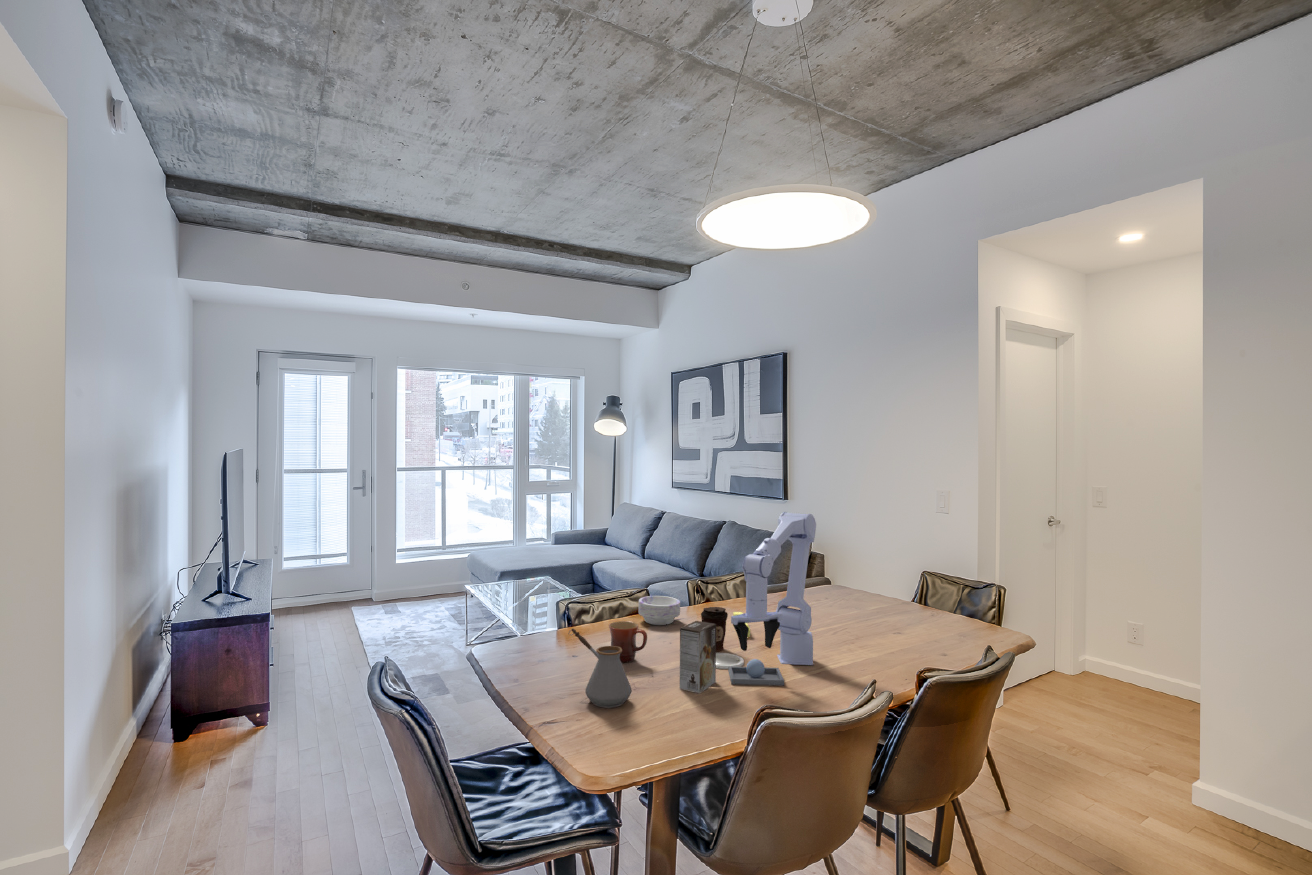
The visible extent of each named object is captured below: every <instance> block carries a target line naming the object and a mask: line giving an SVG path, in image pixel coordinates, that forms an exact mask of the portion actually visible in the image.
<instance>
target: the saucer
mask: <svg viewBox="0 0 1312 875" xmlns="http://www.w3.org/2000/svg"><path fill="white" fill-rule="evenodd" d="M744 662H745V661H744V658H743V657H741V656H739V655H737V654H733V653H728V652H716V669H718V670H728V666H733V667H743V666H744V664H745V663H744Z"/></svg>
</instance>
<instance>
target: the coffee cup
mask: <svg viewBox="0 0 1312 875" xmlns="http://www.w3.org/2000/svg"><path fill="white" fill-rule="evenodd" d="M726 609H727V608H724V607H720V606H709V607H704V608H703V610H702V611H701V613H700V615H701V616H700V618H701V622H707V623H713V624H716V653H722V652H724V650H725V648H724V643H725V637H726V633H727V632H726V630H727V628H726V627H727V621H728V616H729V614H728V612H727V611H726Z"/></svg>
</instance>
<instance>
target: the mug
mask: <svg viewBox="0 0 1312 875" xmlns="http://www.w3.org/2000/svg"><path fill="white" fill-rule="evenodd" d="M608 628H609V632H610V646H617V647H621V649H622V652H621V653H620V657H619V658H620V661H621V663H622V664H625V663H626V664H627V663H631V662H633V661H634V660H635V659H636V653H637V652H639V651H642V650H643V649H644V648H645V647H646V645H647V642H648V633H647V631H646V630H644V629H639V624H638V623H636V622H632V621H627V620H626V621H623V620H622V621H615V622H611V623H609V624H608ZM637 634H642V637H643V638H642V644H641V645H640V646H637V643H636V642H637V640H636V639H637V638H636V637H637Z"/></svg>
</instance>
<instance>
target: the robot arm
mask: <svg viewBox="0 0 1312 875" xmlns="http://www.w3.org/2000/svg"><path fill="white" fill-rule="evenodd" d="M777 520H778V521H777V527H776V529H775V530H774V532H773V534H771V537H766V538H764V539H763V541H762V542H761V543H760V544H759V546H758V547H757V548H756V549H755V550H754V551H753V553H749V554H748V555H746V556H744V558H743V561H742V565H741V569H742V572H743V574H744V577H743V579H744V581H745V582H746V583H745V584H746V586H745V587H746V589H745V590H746V591H745V613H743V614H740V615H736V616H733V615H731V616H730V620H731V621H730V624H732V626H733V628H734V630H735V632H736V635H737V638H738V641H739V644H740V645H739V646H740V650H742V651H744V652H746V651H747V650H748V649H747V648H748V638H747V636H748V631H749V628H750V626H748V627H747V626H746V624H745V623H747V624H749V623H760V622H763V627H764V645H765V647H767V648H768V649H772V645H773V642H774V638H775V635H776V633H777V631H778V630H779V631H780V636H779V637H780V640H779V642H780V645H779V652H780V653H779V654H776V656H777V658H778V660H779V662H780V664H782V665H794V666H795V665H797V666H798V665H799V666H800V665H801V666H802V665H803V666H813V665H814V638H813V637H814V636H813V633H812V631H809V630H810V629H811V627H812V621H813V620H812V606H810V604H808V603H807V601H806V600H805V599H804V597H805V596H804V595H805V587H806V580H807V571H808V563H809V556H810V547H811V544H812V543H814V542H815V538H816V531H817V530H816V529H817V521H816V518H815V517H814V515H813V514H812V513H799V512H798V513H797V512H796V513H795V512H788V511H783V512H782V513H780V515H779V517H778V519H777ZM788 540H789V541H790V542H791V544H792V551H791V555H790V556H791V557H790V565H789V573H788V581H787V588H786V596H785V597H783V598H782V599H780V600H779V601H778V603H777V606H776V609H775V611H768V577H769V576H770V575H771V573H772V569H773V566H774V561H775V560H776V559H777V558H778V556H779V555H780V554H781V552H782V547H781V546H782V545H783V544H784V543H785V542H786V541H788ZM790 607H791V608H790ZM792 607H793V608H792Z"/></svg>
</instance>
